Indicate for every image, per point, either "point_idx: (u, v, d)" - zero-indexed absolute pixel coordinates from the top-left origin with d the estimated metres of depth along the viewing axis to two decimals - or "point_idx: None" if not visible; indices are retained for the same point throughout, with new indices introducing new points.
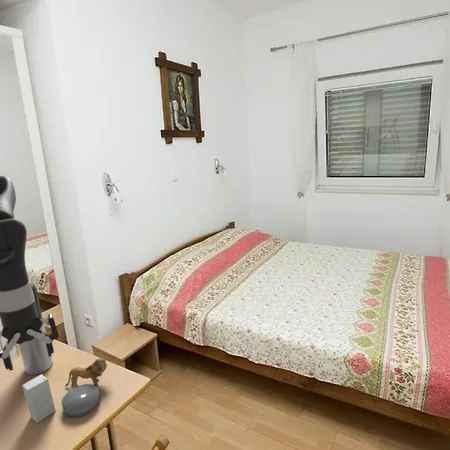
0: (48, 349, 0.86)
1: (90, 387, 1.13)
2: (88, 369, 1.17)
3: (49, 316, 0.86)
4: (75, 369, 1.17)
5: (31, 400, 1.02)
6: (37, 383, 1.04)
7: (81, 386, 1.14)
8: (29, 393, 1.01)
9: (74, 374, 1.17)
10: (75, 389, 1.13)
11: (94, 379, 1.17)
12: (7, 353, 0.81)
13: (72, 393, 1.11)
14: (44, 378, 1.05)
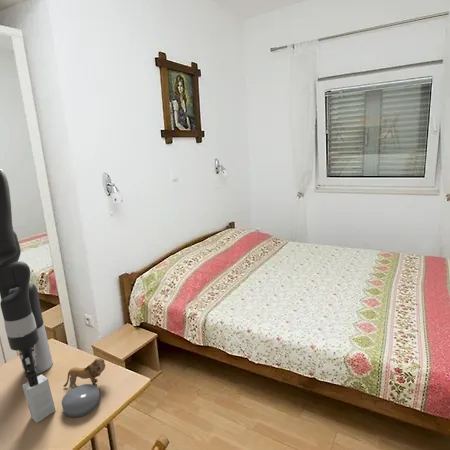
0: None
1: (90, 387, 1.13)
2: (87, 369, 1.17)
3: None
4: (73, 369, 1.17)
5: (31, 400, 1.02)
6: None
7: (81, 386, 1.14)
8: (29, 393, 1.01)
9: (73, 374, 1.17)
10: (75, 389, 1.13)
11: (93, 379, 1.17)
12: (35, 368, 1.00)
13: (72, 393, 1.11)
14: (44, 378, 1.06)
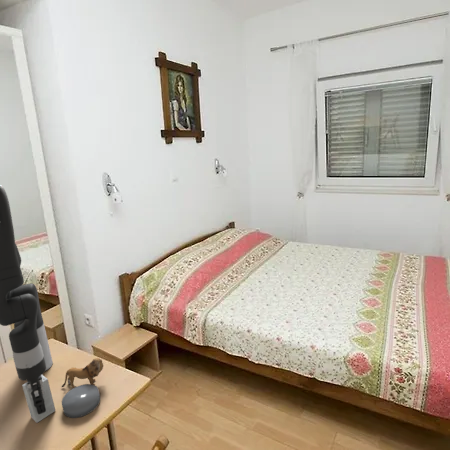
0: None
1: (90, 387, 1.13)
2: (85, 369, 1.17)
3: None
4: (71, 369, 1.17)
5: (31, 400, 1.02)
6: None
7: (81, 386, 1.14)
8: (29, 393, 1.01)
9: (71, 375, 1.17)
10: (75, 389, 1.13)
11: (91, 379, 1.17)
12: None
13: (72, 393, 1.11)
14: (44, 378, 1.06)
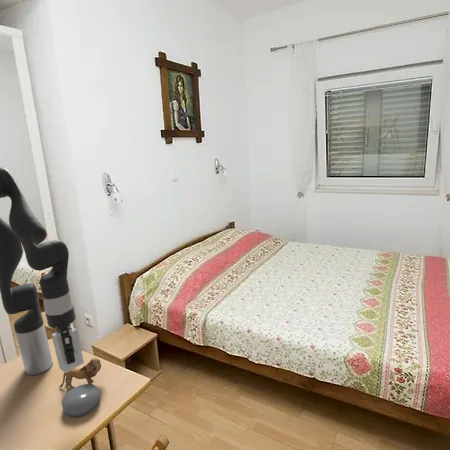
0: None
1: (90, 387, 1.13)
2: (82, 369, 1.17)
3: None
4: None
5: (61, 349, 1.01)
6: None
7: (81, 386, 1.14)
8: (59, 342, 1.00)
9: (68, 375, 1.16)
10: (75, 389, 1.13)
11: (89, 379, 1.17)
12: None
13: (72, 393, 1.11)
14: (73, 329, 1.04)
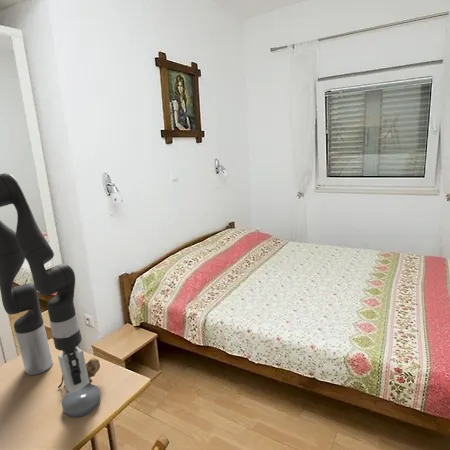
0: None
1: (90, 387, 1.13)
2: None
3: None
4: None
5: (67, 370, 1.03)
6: None
7: None
8: (65, 363, 1.02)
9: None
10: None
11: None
12: None
13: None
14: (79, 350, 1.07)
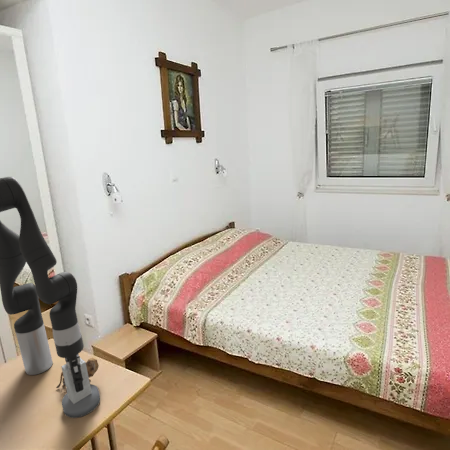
0: None
1: None
2: None
3: None
4: None
5: (70, 381, 1.04)
6: None
7: None
8: (68, 374, 1.04)
9: None
10: None
11: None
12: None
13: None
14: (82, 361, 1.08)
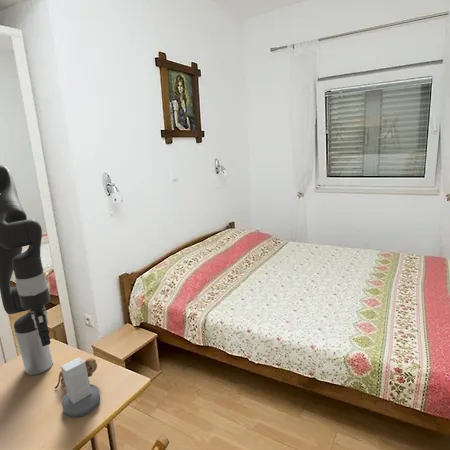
0: None
1: None
2: None
3: None
4: None
5: (69, 381, 1.04)
6: (75, 365, 1.06)
7: None
8: (67, 374, 1.04)
9: None
10: None
11: None
12: None
13: None
14: (81, 361, 1.08)
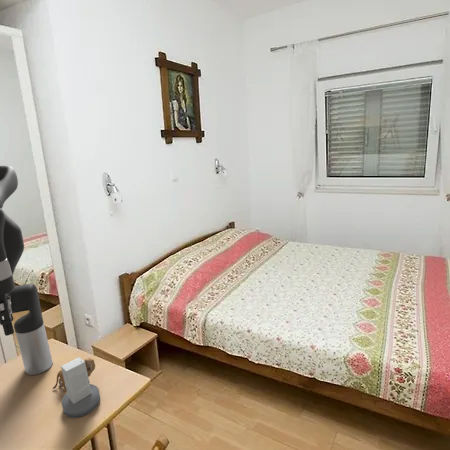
0: (11, 313, 1.04)
1: None
2: None
3: None
4: None
5: (69, 381, 1.04)
6: (75, 365, 1.06)
7: None
8: (67, 374, 1.04)
9: (62, 376, 1.16)
10: None
11: None
12: (10, 317, 0.96)
13: None
14: (81, 361, 1.08)
